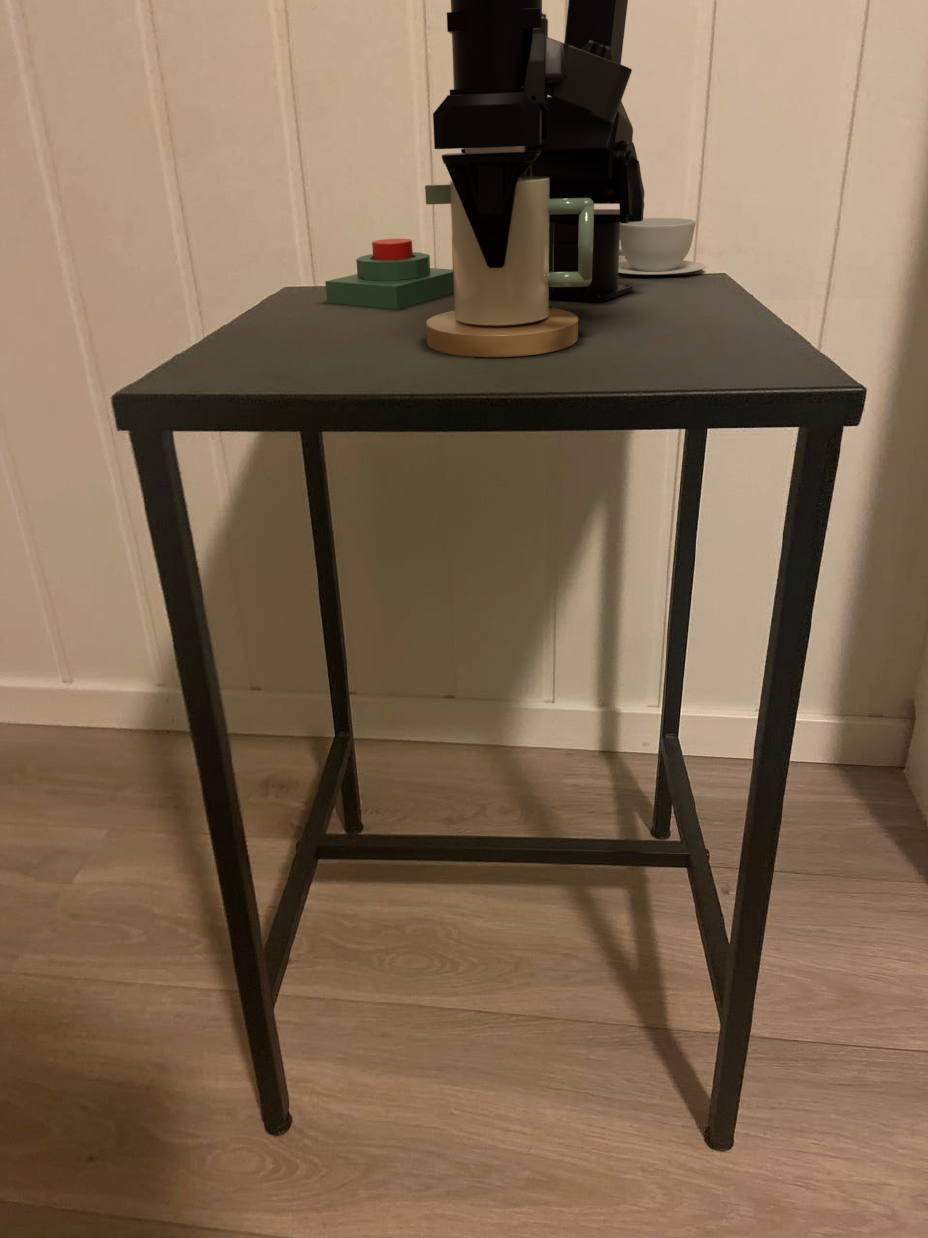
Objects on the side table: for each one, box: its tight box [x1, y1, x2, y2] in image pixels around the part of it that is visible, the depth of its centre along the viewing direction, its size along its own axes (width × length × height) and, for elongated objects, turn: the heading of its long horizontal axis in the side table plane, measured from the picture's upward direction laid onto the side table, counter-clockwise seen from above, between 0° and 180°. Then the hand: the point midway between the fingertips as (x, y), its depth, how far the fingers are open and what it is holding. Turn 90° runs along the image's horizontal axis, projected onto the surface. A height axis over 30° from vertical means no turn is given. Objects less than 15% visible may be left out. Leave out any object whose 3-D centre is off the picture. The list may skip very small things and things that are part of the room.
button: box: [371, 238, 413, 260], centre depth 85 cm, size 4×4×2 cm
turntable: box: [425, 307, 579, 359], centre depth 68 cm, size 11×11×2 cm
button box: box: [325, 251, 454, 310], centre depth 86 cm, size 10×8×4 cm
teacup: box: [618, 217, 706, 276], centre depth 93 cm, size 10×10×5 cm
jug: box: [424, 176, 595, 326], centre depth 65 cm, size 11×7×9 cm, turn 80°
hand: (500, 260), depth 66 cm, fingers closed on jug, 7 cm apart
